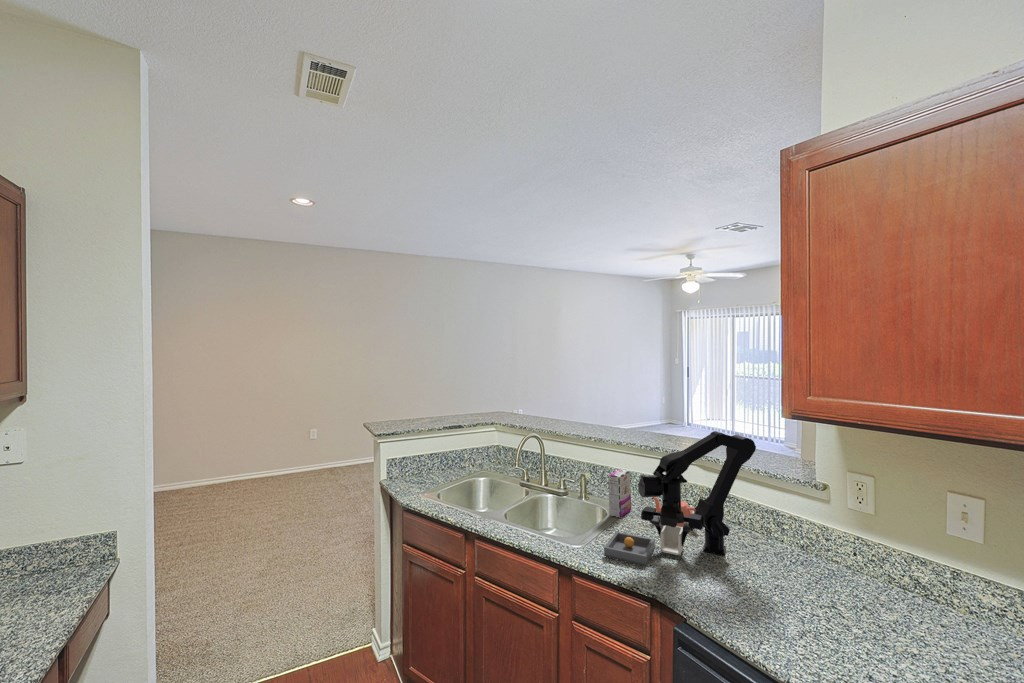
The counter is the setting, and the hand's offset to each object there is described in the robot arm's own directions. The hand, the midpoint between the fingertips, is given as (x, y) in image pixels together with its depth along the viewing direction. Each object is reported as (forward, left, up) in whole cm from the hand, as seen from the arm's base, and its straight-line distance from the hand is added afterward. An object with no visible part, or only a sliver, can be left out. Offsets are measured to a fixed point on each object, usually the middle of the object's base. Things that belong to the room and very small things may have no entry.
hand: (672, 543), depth 144 cm
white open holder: (0, 0, -2) cm, 2 cm away
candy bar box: (-26, -24, -3) cm, 35 cm away
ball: (+5, -13, 0) cm, 14 cm away
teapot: (-25, -3, -3) cm, 25 cm away
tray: (+7, -12, -2) cm, 14 cm away
